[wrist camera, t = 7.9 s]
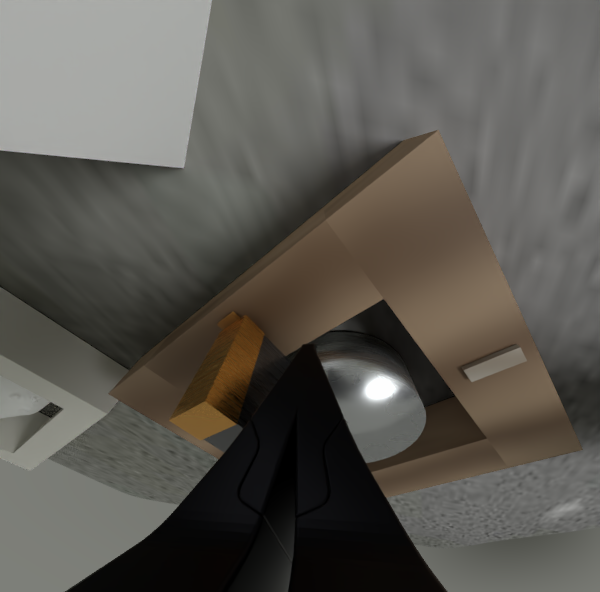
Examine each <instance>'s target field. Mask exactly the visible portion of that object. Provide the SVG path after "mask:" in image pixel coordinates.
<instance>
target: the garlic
mask: <svg viewBox="0 0 600 592" xmlns="http://www.w3.org/2000/svg"><path fill="white" fill-rule="evenodd" d="M49 403H50V401H48V400H46V399H44V398H42V397H40V396H38V395H36V394H35V393H33V392H31V391H29V390H27V389H25V388H23V387H21V386H19V385H17V384H16V383H14V382H12V381H10V380H8V379H6V378H4V377H2V376H0V418H7V417H14V416H20V415H31V414H34V413H36V412H38V411H40V410H41V409H42V408H44V407H45V406H46V405H47V404H49Z"/></svg>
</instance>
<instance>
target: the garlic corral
mask: <svg viewBox="0 0 600 592" xmlns="http://www.w3.org/2000/svg"><path fill="white" fill-rule="evenodd" d="M128 371H129V370H128V369H126V368H125V367H123V366H121V365H120V364H118V363H117V362H115V361H114V360H112V359H111V358H109V357H108V356H106V355H104V354H103V353H101V352H100V351H98V350H97V349H95V348H94V347H92V346H91V345H89V344H88V343H86V342H84V341H83V340H81V339H80V338H78V337H77V336H75V335H74V334H72V333H71V332H69V331H68V330H66V329H64V328H63V327H61V326H60V325H58V324H57V323H55V322H54V321H52V320H51V319H49V318H48V317H46V316H44V315H43V314H41V313H40V312H38V311H37V310H35V309H34V308H32V307H31V306H29V305H28V304H26V303H24V302H23V301H21V300H20V299H18V298H17V297H15V296H14V295H12V294H11V293H9V292H8V291H6V290H4V289H3V288H1V287H0V376H2V377H4V378H6V379H8V380H10V381H12V382H14V383H16V384H17V385H19V386H21V387H23V388H25V389H27V390H29V391H31V392H33V393H35V394H36V395H38V396H40V397H42V398H44V399H46V400H48V401H50V402H52V403H54V404H55V405H57V406H59V407H61V409H60V410H59V411H58V412H57V413H56V414H55V415H53V416H52V417H51V418H50V417H48V416H46V415H44V414H42V413H40V412H36V413H34V414H31V415H20V416H14V417H7V418H0V459H2V460H5V461H7V462H9V463H12V464H14V465H17V466H20V467H22V468H24V469H26V470H29V471H31V470H32V469H33V468H35V467H36V466H38V465H39V464H40V463H42V462H43V461H44V460H46V459H47V458H48V457H50V456H51V455H53V454H54V453H55V452H57V451H58V450H59V449H61V448H62V447H63V446H65V445H66V444H68V443H69V442H70V441H72V440H73V439H74V438H76V437H77V436H78V435H80V434H81V433H83V432H84V431H85V430H87V429H88V428H89V427H91V426H92V425H93V424H95V423H96V422H98V421H99V420H100V419H102V418H103V417H104V416H106V415H107V414H108V413H109V412H110V411H111V409H112V408H113V407H114V406H115V405H116V404H117V402H118V401H119V400H118V399H116V398H114V397H112V396H111V395H109V394H108V393H109V392H110V391H111V390H112V389H113V388H114V387H115V386H116V385H117V383H118V382H119V381H120V380H121V379H122V378H123V377H124V376H125V375H126V374H127V373H128Z"/></svg>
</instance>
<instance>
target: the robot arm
mask: <svg viewBox="0 0 600 592" xmlns="http://www.w3.org/2000/svg"><path fill="white" fill-rule="evenodd" d="M65 592H447V591H446V589H445V588H444V587H443V585H442V584H441V583H440V581H439V580H438V579H437V577H436V576H435V575H434V574H433V572H432V571H431V569H430V568H429V567H428V565H427V564H426V562H425V561H424V559H423V558H422V557H421V555H420V553H419V552H418V550H417V549H416V547H415V546H414V544H413V542H412V541H411V539H410V538H409V536H408V534H407V533H406V531H405V530H404V528H403V526H402V525H401V523H400V521H399V519H398V518H397V516H396V514H395V512H394V511H393V509H392V507H391V506H390V504H389V502H388V500H387V499H386V497H385V495H384V493H383V492H382V490H381V488H380V487H379V485H378V483H377V481H376V480H375V478H374V476H373V474H372V473H371V471H370V469H369V467H368V466H367V464H366V462H365V460H364V458H363V456H362V454H361V453H360V451H359V449H358V447H357V445H356V442H355V440H354V438H353V436H352V434H351V432H350V429H349V427H348V425H347V422H346V420H345V419H344V415H343V413H342V411H341V408H340V406H339V404H338V401H337V399H336V397H335V394H334V392H333V390H332V387H331V385H330V382H329V380H328V378H327V375H326V373H325V371H324V368H323V366H322V364H321V361H320V359H319V357H318V354H317V350H316V345H315V344H314V343H311V344H303V345H302V347H301V349H300V350H299V352H298V353H297V355H296V356H295V357H294V359H293V360H292V361H291V363H290V364H289V366H288V367H287V368H286V370H285V371H284V373H283V374H282V375H281V377H280V378H279V379H278V381H277V382H276V384H275V385H274V386H273V388H272V389H271V391H270V392H269V393H268V395H267V396H266V398H265V399H264V400H263V402H262V403H261V404H260V406H259V407H258V409H257V410H256V411H255V413H254V414H253V416H252V417H251V420H249V421H248V422H247V424H246V425H245V427H244V428H243V429H242V431H241V432H240V433H239V435H238V436H237V437H236V439H235V440H234V441H233V443H232V444H231V445H230V446H229V448H228V449H227V450H226V451H225V452H224V454H223V455H222V456H221V457H220V459H219V460H218V461H217V462H216V463H215V465H214V466H213V467H212V468H211V469H210V470H209V471H208V473H207V474H206V475H205V476H204V477H203V478H202V480H201V481H200V482H199V483H198V484H197V485H196V486H195V488H194V489H193V490H192V491H191V492H190V493H189V495H188V496H187V497H186V498H185V499H184V500H183V501H182V503H181V504H180V505H179V506H178V507H177V508H176V510H175V511H174V512H173V513H172V514H171V515H170V516H169V517H168V518H167V519H166V520H165V521H164V522H163V523H162V524H161V525H160V526H159V527H158V528H157V529H156V530H154V531H153V532H152V533H151V534H150V535H149V536H147V537H146V538H145V539H144V540H142V541H141V542H139V543H138V544H136V545H135V546H133V547H132V548H130V549H129V550H127V551H126V552H124V553H123V554H121V555H120V556H118V557H117V558H115V559H114V560H112V561H111V562H109V563H108V564H106V565H105V566H104V567H102V568H100V569H99V570H97V571H96V572H94V573H92V574H91V575H89V576H88V577H86V578H85V579H83V580H82V581H80V582H79V583H77V584H76V585H74V586H73V587H71V588H70V589H68V590H67V591H65Z"/></svg>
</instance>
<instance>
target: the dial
mask: <svg viewBox="0 0 600 592" xmlns="http://www.w3.org/2000/svg"><path fill="white" fill-rule="evenodd" d="M264 334H265V333H264V332H263V331H262V330H261V329H260V328H259V327H258V326H257V325H256V324H255V323H254V322H253V321H252V320H251V319H250V318H249V317H248V316H247V315H245V316H243V317H242V318H240V319H239V320H237V321H236V322H234V323H233V324H231V325H230V326H228V327H227V328H225V329H224V330H222V331H221V332H220V333H219V335H218V337H217V338H216V340H215V342H214V343H213V345H212V347H211V349H210V350H209V352H208V354H207V355H206V357H205V359H204V361H203V362H202V364H201V366H200V368H199V369H198V371H197V373H196V374H195V376H194V378H193V380H192V381H191V383H190V385H189V387H188V388H187V390H186V392H185V393H184V395H183V397H182V399H181V400H180V402H179V404H178V405H177V407H176V409H175V411H174V412H173V414H172V416H171V418H170V419H169V421H170V422H172V423H173V424H175V425H177V426H178V427H180V428H181V429H183V430H184V431H186V432H188V433H189V434H191V435H192V436H194V437H195V438H197V439H199V440H200V441H201V440H203V439H204V440H205V441H207V442H208V443H210V444H211V445H213V446H214V447H216V448H218V449H219V450H221V451H222V452H225V451H226V450H227V449H228V448H229V446H230V445H231V444H232V443H233V441H234V440H235V439H236V437H237V436H238V435H239V433H240V432H241V431H242V429H243V428H244V427H245V425H246V424H247V422H248V421H249V420H251V417H252V416H253V414H254V413H255V411H256V410H257V409H258V407H259V406H260V404H261V403H262V402H263V400H264V399H265V398H266V396H267V395H268V393H269V392H270V391H271V389H272V388H273V386H274V385H275V384H276V382H277V381H278V379H279V378H280V377H281V375H282V374H283V373H284V371H285V370H286V368H287V367H288V366H289V364H290V363H291V361H292V360H293V359H294V357H295V356H296V355H297V353H298V352H299V350H300V349H301V347H300V348H299V349H297V350H295V351H294V352H292V353H290V354H288V355H287V356H285V355H284V354H283V353H282V352H281V351H280V350H279V349H278V348H277V347H276V346H275V345H274V344H273V343H272V342H271V341H270V340H269V339H268V338H267V337H266V336H265V335H264ZM311 343H314V344H315V345H316V350H317V354H318V357H319V359H320V361H321V364H322V366H323V368H324V371H325V373H326V375H327V378H328V380H329V382H330V385H331V387H332V390H333V392H334V394H335V397H336V399H337V401H338V404H339V406H340V408H341V411H342V413H343V415H344V419H345V420H346V422H347V425H348V427H349V429H350V432H351V434H352V436H353V438H354V440H355V442H356V445H357V447H358V449H359V451H360V453H361V454H362V456H363V458H364V460H365V462H366V463H370V462H375V461H379V460H383V459H386V458H389V457H391V456H393V455H396V454H398V453H400V452H402V451H403V450H405V449H406V448H408V447H409V446H411V445H412V444H413V443H414V442H415V441H416V440H417V439H418V437H419V436H420V435H421V433H422V431H423V429H424V427H425V424H426V411H425V408H424V405H423V403H422V401H421V398H420V396H419V394H418V392H417V390H416V387H415V385H414V383H413V381H412V378H411V376H410V374H409V372H408V370H407V367H406V365H405V363H404V361H403V359H402V358H401V356H400V355H399V354H398V353H397V351H396V350H394V349H393V348H392V347H391V346H390V345H388V344H387V343H385V342H383V341H381V340H379V339H377V338H375V337H372V336H369V335H365V334H361V333H355V332H331V333H324V334H323V335H321V336H319V337H318V338H316V339H314V340H312V341H311V342H309V343H307V344H311Z"/></svg>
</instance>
